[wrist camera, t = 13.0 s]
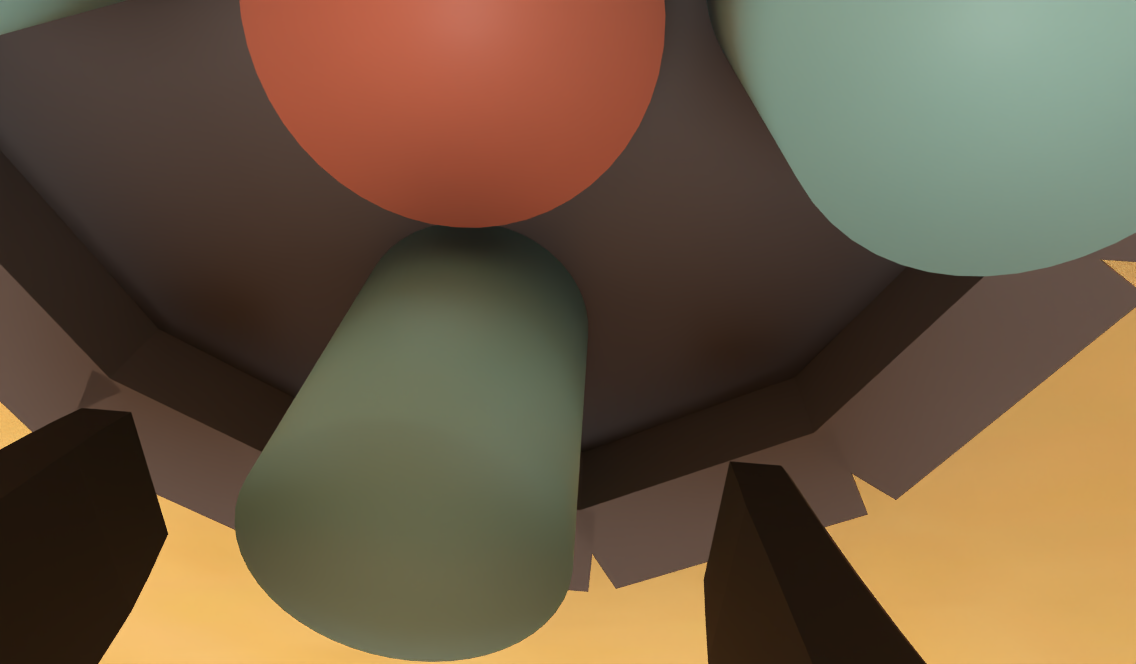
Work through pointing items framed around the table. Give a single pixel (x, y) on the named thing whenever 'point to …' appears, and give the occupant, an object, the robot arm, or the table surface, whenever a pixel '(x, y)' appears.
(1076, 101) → the pale green cylinder
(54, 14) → the grey green cylinder
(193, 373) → the ring tray
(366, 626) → the bead
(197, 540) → the table surface
